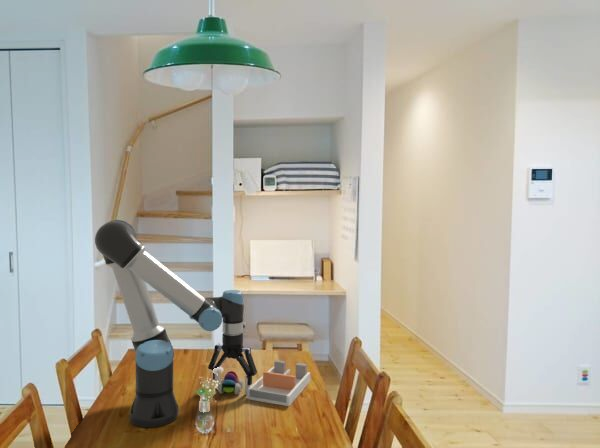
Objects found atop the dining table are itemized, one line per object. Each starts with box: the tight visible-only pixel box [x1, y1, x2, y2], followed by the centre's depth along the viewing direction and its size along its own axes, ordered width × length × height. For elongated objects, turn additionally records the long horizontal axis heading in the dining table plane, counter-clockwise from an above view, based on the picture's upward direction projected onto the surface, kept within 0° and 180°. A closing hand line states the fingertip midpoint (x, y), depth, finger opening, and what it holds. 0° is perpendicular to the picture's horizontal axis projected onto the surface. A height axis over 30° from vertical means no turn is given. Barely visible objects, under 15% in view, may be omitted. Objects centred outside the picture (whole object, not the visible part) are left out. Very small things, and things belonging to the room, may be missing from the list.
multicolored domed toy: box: [217, 370, 244, 396], centre depth 170 cm, size 8×10×7 cm
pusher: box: [262, 368, 296, 390], centre depth 176 cm, size 11×13×5 cm
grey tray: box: [246, 359, 311, 407], centre depth 173 cm, size 24×16×6 cm, turn 161°
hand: (232, 390), depth 170 cm, fingers open, 12 cm apart
